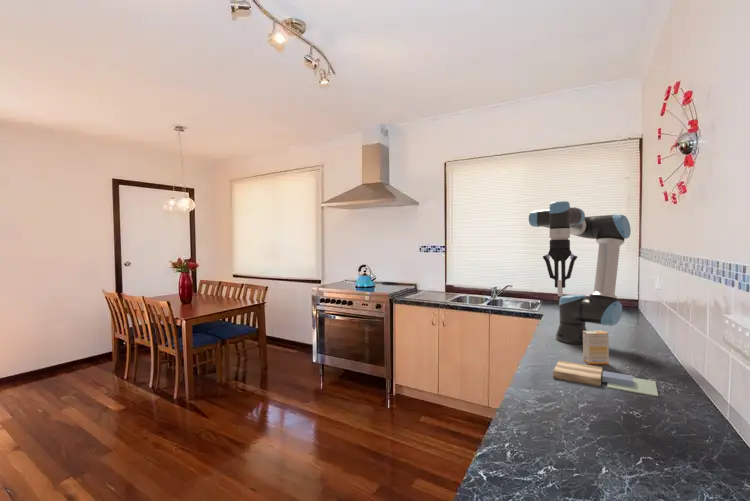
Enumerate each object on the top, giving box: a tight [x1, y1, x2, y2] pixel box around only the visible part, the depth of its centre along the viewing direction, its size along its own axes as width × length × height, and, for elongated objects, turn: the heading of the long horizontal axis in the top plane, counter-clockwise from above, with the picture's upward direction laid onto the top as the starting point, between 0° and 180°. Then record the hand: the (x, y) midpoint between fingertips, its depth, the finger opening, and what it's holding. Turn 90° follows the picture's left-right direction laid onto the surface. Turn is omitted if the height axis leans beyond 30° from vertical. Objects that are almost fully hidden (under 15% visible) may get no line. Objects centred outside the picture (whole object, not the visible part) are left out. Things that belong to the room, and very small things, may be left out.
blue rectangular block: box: [601, 370, 634, 387], centre depth 128 cm, size 9×6×2 cm, turn 55°
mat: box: [606, 377, 659, 398], centre depth 126 cm, size 14×14×1 cm
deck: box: [552, 360, 603, 387], centre depth 136 cm, size 14×15×2 cm
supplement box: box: [582, 330, 610, 365], centre depth 149 cm, size 8×5×13 cm, turn 84°
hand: (560, 295), depth 149 cm, fingers closed
